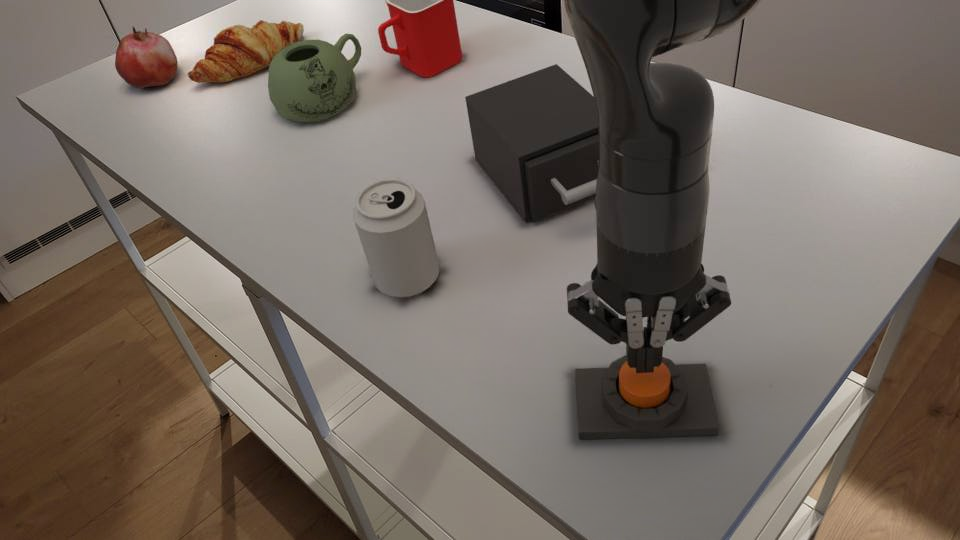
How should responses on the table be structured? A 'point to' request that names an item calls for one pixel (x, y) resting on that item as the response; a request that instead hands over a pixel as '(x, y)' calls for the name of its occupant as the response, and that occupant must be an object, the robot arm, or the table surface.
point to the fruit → (145, 59)
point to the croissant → (244, 50)
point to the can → (396, 237)
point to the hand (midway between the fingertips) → (643, 364)
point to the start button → (644, 386)
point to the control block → (617, 418)
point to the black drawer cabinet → (527, 126)
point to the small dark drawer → (562, 177)
